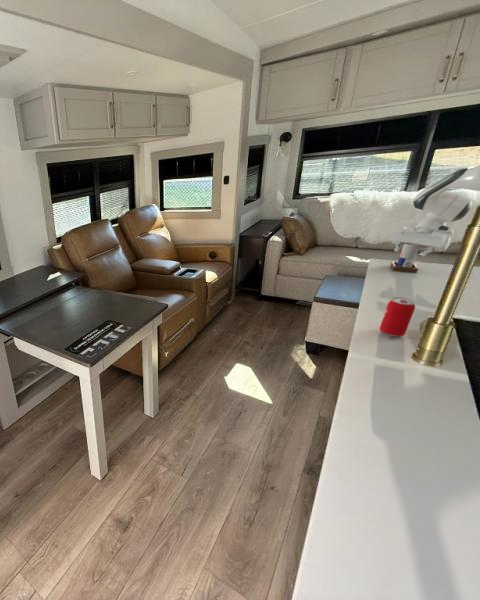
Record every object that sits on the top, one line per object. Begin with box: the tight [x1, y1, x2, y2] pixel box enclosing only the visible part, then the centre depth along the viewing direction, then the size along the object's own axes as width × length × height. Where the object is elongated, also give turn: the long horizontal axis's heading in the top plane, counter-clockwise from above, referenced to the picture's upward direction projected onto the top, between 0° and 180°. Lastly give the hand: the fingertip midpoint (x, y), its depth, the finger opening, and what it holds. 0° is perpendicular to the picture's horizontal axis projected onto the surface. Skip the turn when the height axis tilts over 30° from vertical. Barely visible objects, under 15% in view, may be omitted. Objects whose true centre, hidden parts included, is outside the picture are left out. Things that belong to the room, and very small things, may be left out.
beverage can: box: [379, 296, 416, 338], centre depth 103 cm, size 6×6×12 cm
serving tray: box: [390, 261, 419, 274], centre depth 152 cm, size 8×8×2 cm
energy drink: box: [397, 242, 420, 268], centre depth 150 cm, size 5×5×12 cm
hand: (408, 253), depth 149 cm, fingers open, 8 cm apart
